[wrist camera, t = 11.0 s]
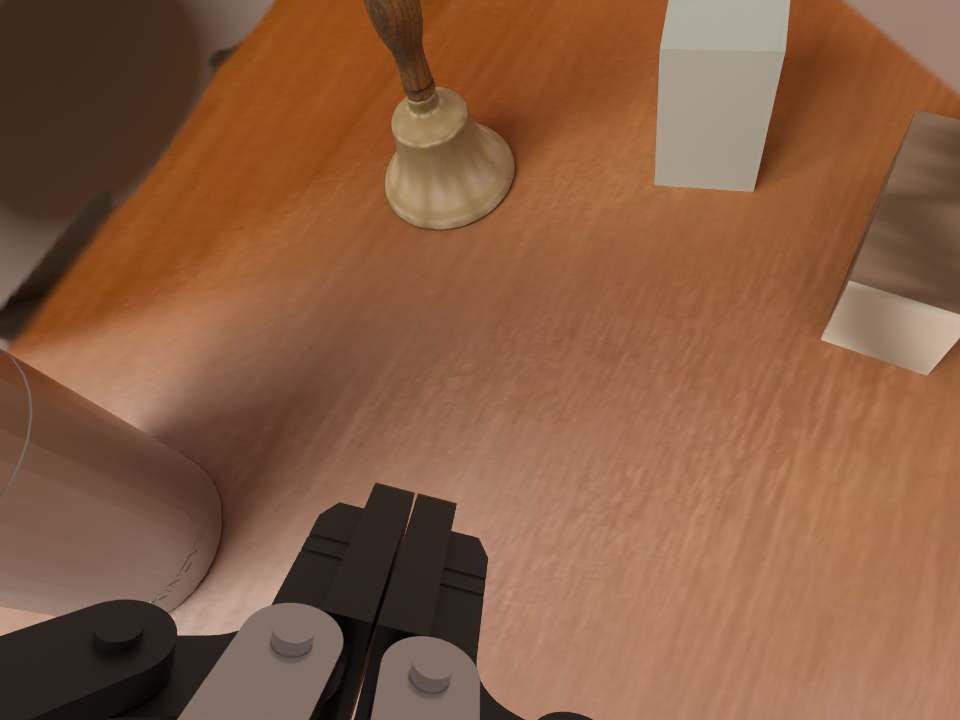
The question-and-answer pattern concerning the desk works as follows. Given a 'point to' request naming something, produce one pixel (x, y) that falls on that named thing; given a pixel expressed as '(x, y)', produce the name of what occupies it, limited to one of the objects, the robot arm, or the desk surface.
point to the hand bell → (436, 136)
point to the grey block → (717, 90)
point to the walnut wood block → (908, 256)
